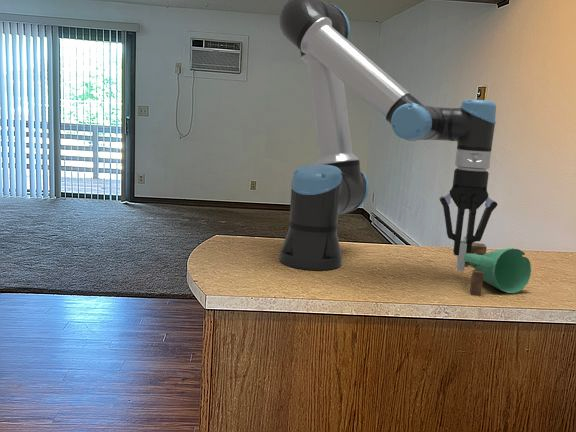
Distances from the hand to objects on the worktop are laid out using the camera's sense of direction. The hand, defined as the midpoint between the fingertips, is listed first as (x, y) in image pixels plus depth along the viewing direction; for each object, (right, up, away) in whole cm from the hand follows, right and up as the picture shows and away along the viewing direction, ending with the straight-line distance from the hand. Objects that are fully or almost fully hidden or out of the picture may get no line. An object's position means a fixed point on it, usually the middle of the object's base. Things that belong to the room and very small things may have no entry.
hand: (460, 268), depth 132 cm
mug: (+3, +1, -1) cm, 4 cm away
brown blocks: (+5, -2, +2) cm, 6 cm away
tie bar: (+10, +2, +23) cm, 25 cm away
